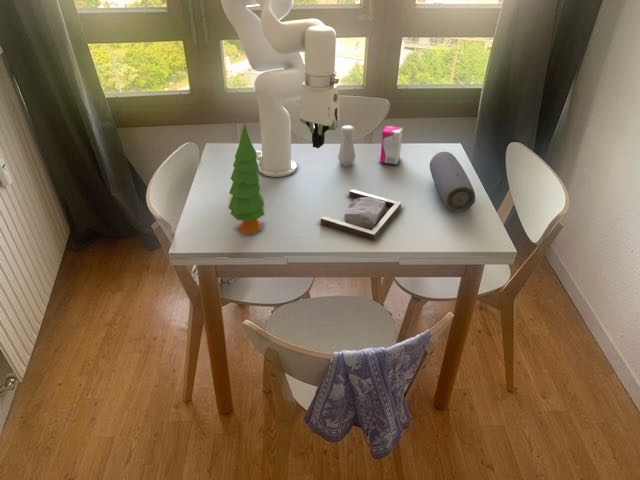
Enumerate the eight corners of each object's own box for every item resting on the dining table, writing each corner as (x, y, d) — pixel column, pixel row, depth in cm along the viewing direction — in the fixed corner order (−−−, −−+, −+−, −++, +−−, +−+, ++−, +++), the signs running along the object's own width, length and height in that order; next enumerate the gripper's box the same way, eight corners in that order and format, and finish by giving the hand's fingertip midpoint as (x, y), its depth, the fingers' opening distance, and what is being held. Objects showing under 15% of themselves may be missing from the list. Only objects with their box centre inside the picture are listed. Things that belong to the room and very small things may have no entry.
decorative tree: (267, 236, 131) (259, 128, 114) (231, 240, 129) (218, 131, 112) (264, 217, 138) (256, 114, 121) (230, 220, 137) (217, 116, 120)
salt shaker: (344, 158, 170) (345, 122, 163) (358, 162, 168) (360, 126, 160) (334, 164, 166) (335, 127, 159) (348, 168, 164) (350, 131, 156)
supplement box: (400, 158, 170) (403, 127, 164) (396, 166, 166) (399, 133, 159) (383, 156, 172) (386, 124, 165) (379, 163, 167) (382, 131, 161)
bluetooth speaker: (474, 216, 140) (480, 184, 134) (441, 216, 140) (446, 185, 134) (454, 178, 158) (459, 149, 153) (425, 178, 158) (429, 149, 153)
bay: (320, 224, 136) (320, 218, 135) (351, 194, 149) (351, 189, 148) (373, 241, 129) (374, 234, 128) (400, 208, 143) (401, 202, 142)
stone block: (342, 230, 136) (377, 230, 133) (340, 214, 134) (375, 215, 130) (355, 210, 146) (388, 210, 142) (353, 195, 144) (386, 195, 140)
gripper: (352, 80, 125) (348, 147, 135) (301, 70, 130) (301, 135, 141) (338, 89, 119) (335, 157, 130) (286, 78, 125) (287, 144, 136)
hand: (318, 145), depth 136 cm, fingers closed
